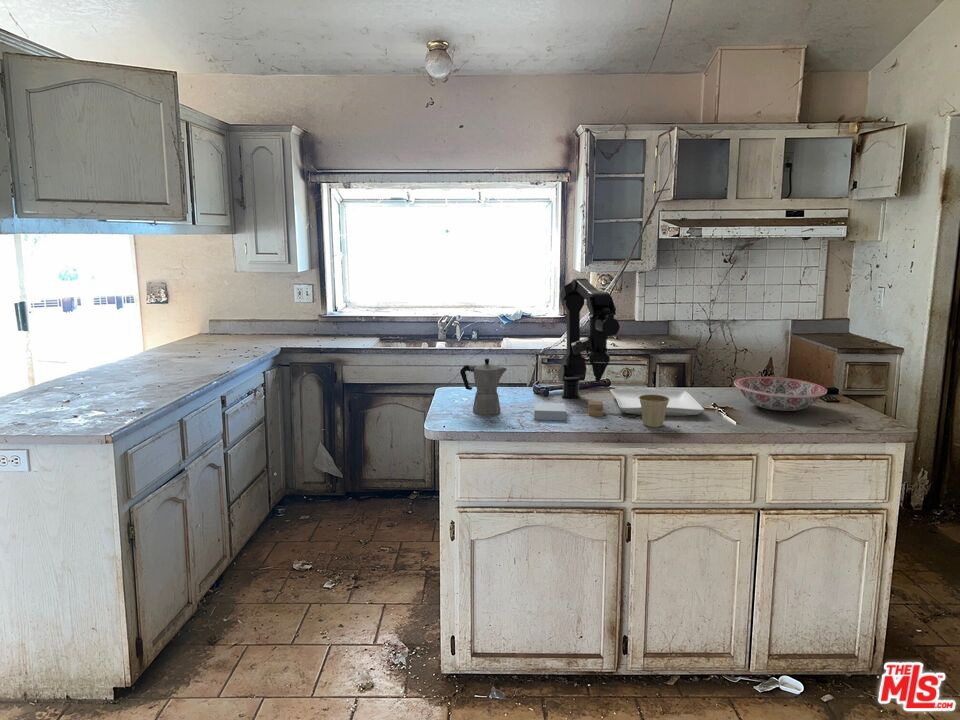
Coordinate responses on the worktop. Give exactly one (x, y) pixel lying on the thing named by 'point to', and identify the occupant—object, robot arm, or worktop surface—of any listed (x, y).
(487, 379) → the coffeepot
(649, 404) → the flower pot
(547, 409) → the base slab
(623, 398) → the square plate
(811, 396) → the ceramic bowl
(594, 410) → the walnut block
